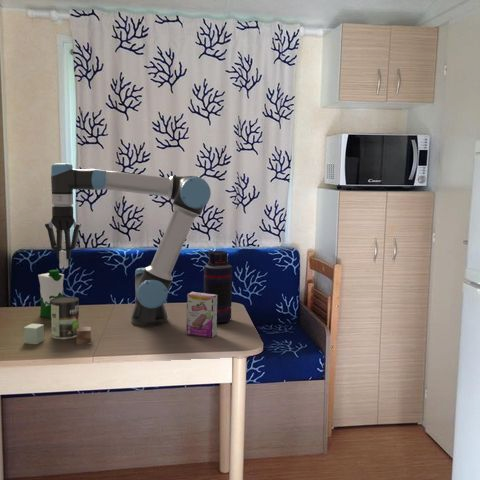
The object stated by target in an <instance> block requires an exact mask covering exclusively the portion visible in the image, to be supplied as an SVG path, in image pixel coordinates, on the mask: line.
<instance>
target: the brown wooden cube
mask: <svg viewBox="0 0 480 480" xmlns="http://www.w3.org/2000/svg"><path fill="white" fill-rule="evenodd" d="M76 332H77V337H76V345H86V344H87V345H89V344H88V343H91V344H92V327H91V326H79V327H77V331H76Z"/></svg>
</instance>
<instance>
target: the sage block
mask: <svg viewBox="0 0 480 480" xmlns="http://www.w3.org/2000/svg"><path fill="white" fill-rule="evenodd" d="M44 327H45V325H44V324H41V323H29V324H28V325H26V326H24V327H23V337H24V338H23V339H24V340H23V341H24V344H29V345H30V344H31V345H38V344H40V343H41V342H43V341H45V328H44Z"/></svg>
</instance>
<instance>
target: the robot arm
mask: <svg viewBox="0 0 480 480" xmlns="http://www.w3.org/2000/svg"><path fill="white" fill-rule="evenodd" d="M50 180H51V181H50V184H51V204H52V206H51V220H50V221H49V222H47V223H45V224H44V226H45V228H46V230H47V233H48V238H49V243H50V248H51V249H52V250H55V251H56V259H57V260H59V269H68V268H69V260H70V259H72V256H71V255H72V253H71V251H73V250H75V249H76V247H77V241H78V236H79V230H80V229H81V227H82V224H81V223H78V222H76V221H75V220H76V219H75V218H74V206H73V205H74V190H85V191H87V190H89V191H90V190H91V191H94V190H95V191H99V190H101V191H102V190H107V191H117V192H126V193H134V194H142V195H143V194H144V195H152V196H159V197H160V196H161V197H167V198H168V200H173V202H172V207H173V212H172V214H171V216H170V218H169V222H168V224H167V226H166V228H165V230H164V233H163V234H162V237H161V240H160V242H159V245H158V247H157V249H156V252H155V254H154V257H153V259H152V261H151V264H150V265H148V266H146V267H139V268H136V269H135V271H134V273H135V274H134V279H135V281H134V282H135V283H134V286H135V290H134V292H135V298H134V301H135V302H134V307H133V310H132V313H131V316H130V317H131V318H130V319H131V321H130V323H131V324H132V325H134V326H139V327H145V328H146V327H158V326H162V325H165V324H166V323H168V320H169V319H168V314H167V310H166V307H165V303H166V301H167V300H168V295H169V293H168V292H169V289H170V287H171V284H172V282H173V276H172V272H173V270H174V267H175V265H176V263H177V260H178V257H179V256H180V253H181V251H182V249H183V247H184V244H185V242H186V239H187V237H188V235H189V233H190V230H191V228H192V225H193V223H194V221H195V219H196V218H198V217H199V216H201V215H202V212H203V209H204V207H205V206H206V205H207V204H208V203H209V201H210V199H211V195H212V194H211V193H212V192H211V187H210V185H209V183H208V182H207V181H206V180H205V179H203V178H202V177H200V176H195V175H184V176H177V175H176V176H175V175H171V176H170V177H164V176H163V177H162V176H155V175H146V174H141V173H140V174H139V173H130V172H129V173H128V172H124V171H123V172H122V171H121V172H120V171H113V170H104V169H96V168H91V167H90V168H87V169H86V168H85V169H81V168H80V169H76V168H74V167H73V164H72V163H53V164H52V165H51V173H50ZM53 226H54V228H55V229H56V231H55V232H56V235H55V233H54V229H53ZM72 226H73V232H72V237H71V228H72ZM63 234H64V244H65V245H64V246H65V250H63V244H62V243H63V242H62V241H63ZM55 236H56V237H55Z"/></svg>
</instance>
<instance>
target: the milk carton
mask: <svg viewBox="0 0 480 480" xmlns="http://www.w3.org/2000/svg"><path fill="white" fill-rule="evenodd" d="M37 277H38V281H39V286H40V287H39V291H40V294H39V295H40V314H39V315H40V316H42V317H44V318H47V319H51V299H54V298H57V297H64V278H65V274H64V273H63V274H62V273H60V270H59V269H50V270H48V272H46V273H41V274H38V275H37Z"/></svg>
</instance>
